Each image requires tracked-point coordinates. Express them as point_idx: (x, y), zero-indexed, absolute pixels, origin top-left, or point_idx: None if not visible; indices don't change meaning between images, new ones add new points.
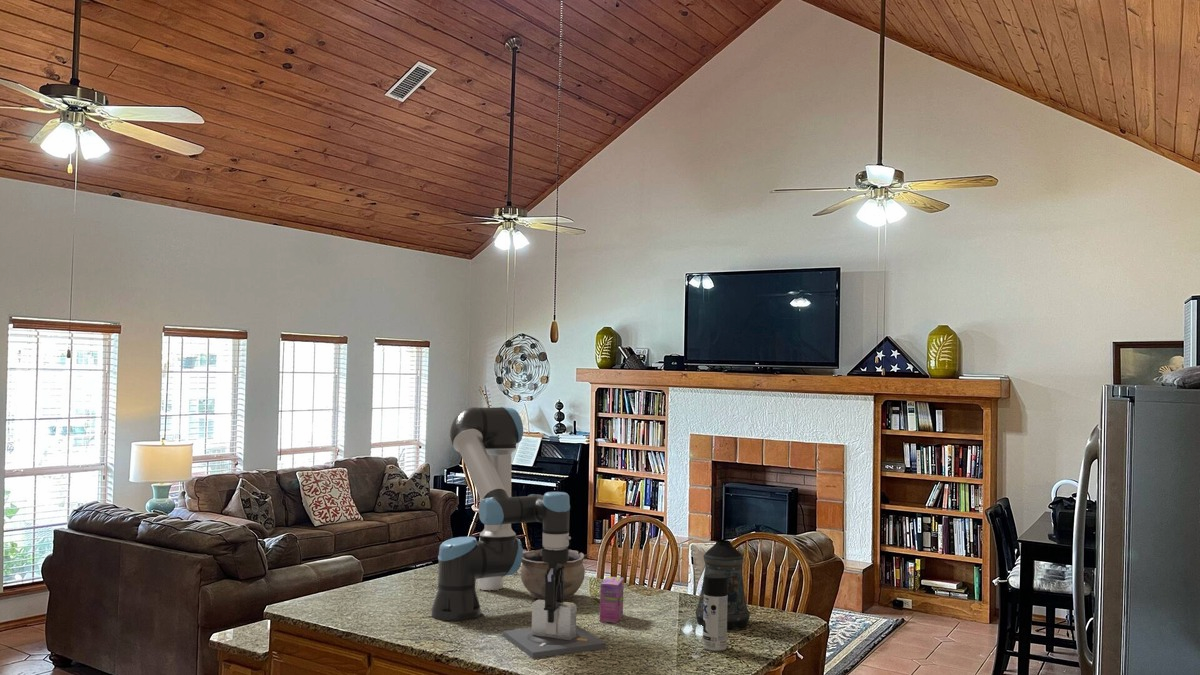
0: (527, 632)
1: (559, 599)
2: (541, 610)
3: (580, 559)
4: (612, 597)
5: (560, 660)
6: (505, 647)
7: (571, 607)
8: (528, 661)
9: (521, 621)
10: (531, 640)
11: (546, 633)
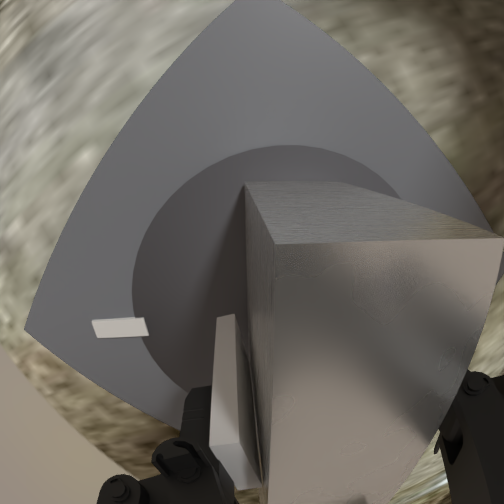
0: (304, 119)
1: (448, 466)
2: (260, 356)
3: None
4: None
5: (88, 404)
6: (77, 118)
7: None
8: (9, 317)
9: (488, 25)
10: (148, 237)
11: (217, 319)
